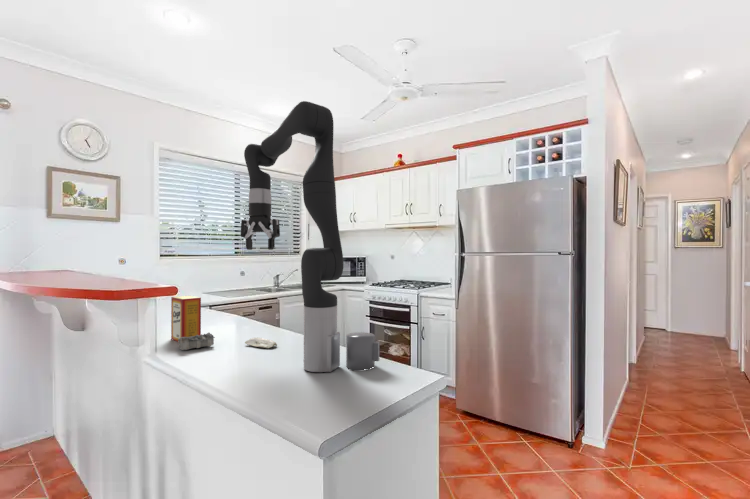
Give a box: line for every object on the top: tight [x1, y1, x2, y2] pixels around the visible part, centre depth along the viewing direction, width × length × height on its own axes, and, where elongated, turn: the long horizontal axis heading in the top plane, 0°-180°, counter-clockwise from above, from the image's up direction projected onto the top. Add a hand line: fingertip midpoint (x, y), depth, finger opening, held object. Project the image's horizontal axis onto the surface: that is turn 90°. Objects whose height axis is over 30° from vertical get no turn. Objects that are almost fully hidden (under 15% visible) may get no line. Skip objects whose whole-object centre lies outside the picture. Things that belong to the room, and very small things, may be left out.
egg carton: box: [177, 332, 216, 351], centre depth 132 cm, size 11×8×4 cm
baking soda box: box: [170, 295, 202, 343], centre depth 144 cm, size 10×6×16 cm
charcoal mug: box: [345, 331, 380, 371], centre depth 111 cm, size 9×8×9 cm
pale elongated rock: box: [244, 337, 278, 349], centre depth 134 cm, size 12×5×4 cm
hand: (260, 249), depth 137 cm, fingers open, 8 cm apart
